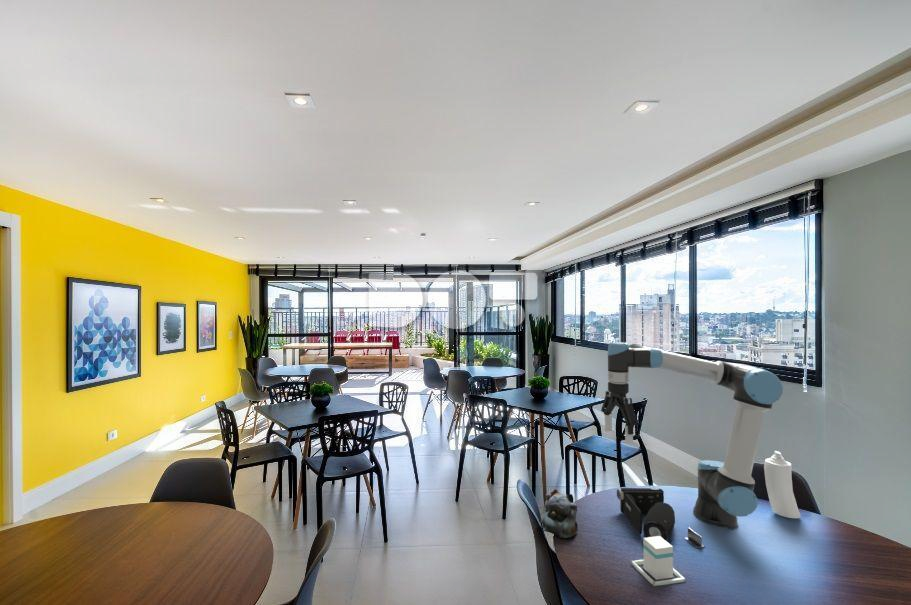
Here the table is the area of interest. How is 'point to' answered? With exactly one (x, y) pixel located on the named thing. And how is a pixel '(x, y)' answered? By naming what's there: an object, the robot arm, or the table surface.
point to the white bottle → (780, 486)
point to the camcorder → (638, 503)
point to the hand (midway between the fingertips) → (618, 436)
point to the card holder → (694, 539)
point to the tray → (677, 580)
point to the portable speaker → (659, 521)
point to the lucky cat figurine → (560, 515)
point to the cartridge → (658, 557)
